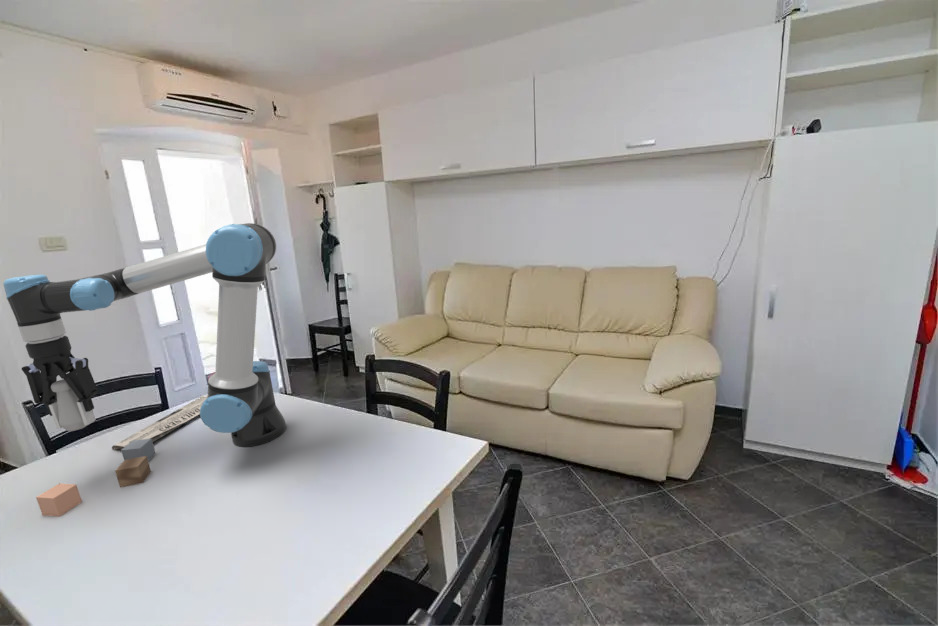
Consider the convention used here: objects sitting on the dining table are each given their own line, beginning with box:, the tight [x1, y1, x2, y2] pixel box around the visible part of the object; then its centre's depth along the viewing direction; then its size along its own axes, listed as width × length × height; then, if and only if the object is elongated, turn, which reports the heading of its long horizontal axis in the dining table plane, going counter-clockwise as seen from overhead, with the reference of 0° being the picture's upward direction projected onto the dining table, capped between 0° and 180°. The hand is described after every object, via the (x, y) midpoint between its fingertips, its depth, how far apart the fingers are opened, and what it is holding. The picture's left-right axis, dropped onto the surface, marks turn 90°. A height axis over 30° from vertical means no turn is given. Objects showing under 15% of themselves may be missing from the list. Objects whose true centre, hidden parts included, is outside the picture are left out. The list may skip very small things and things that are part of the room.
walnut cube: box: [114, 456, 152, 488], centre depth 109 cm, size 5×5×5 cm
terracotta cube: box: [35, 483, 83, 517], centre depth 99 cm, size 5×5×5 cm
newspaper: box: [111, 394, 208, 451], centre depth 139 cm, size 35×12×4 cm, turn 169°
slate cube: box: [120, 439, 157, 461], centre depth 118 cm, size 5×5×5 cm
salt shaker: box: [51, 378, 88, 432], centre depth 105 cm, size 6×6×13 cm
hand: (76, 424), depth 107 cm, fingers closed on salt shaker, 6 cm apart
